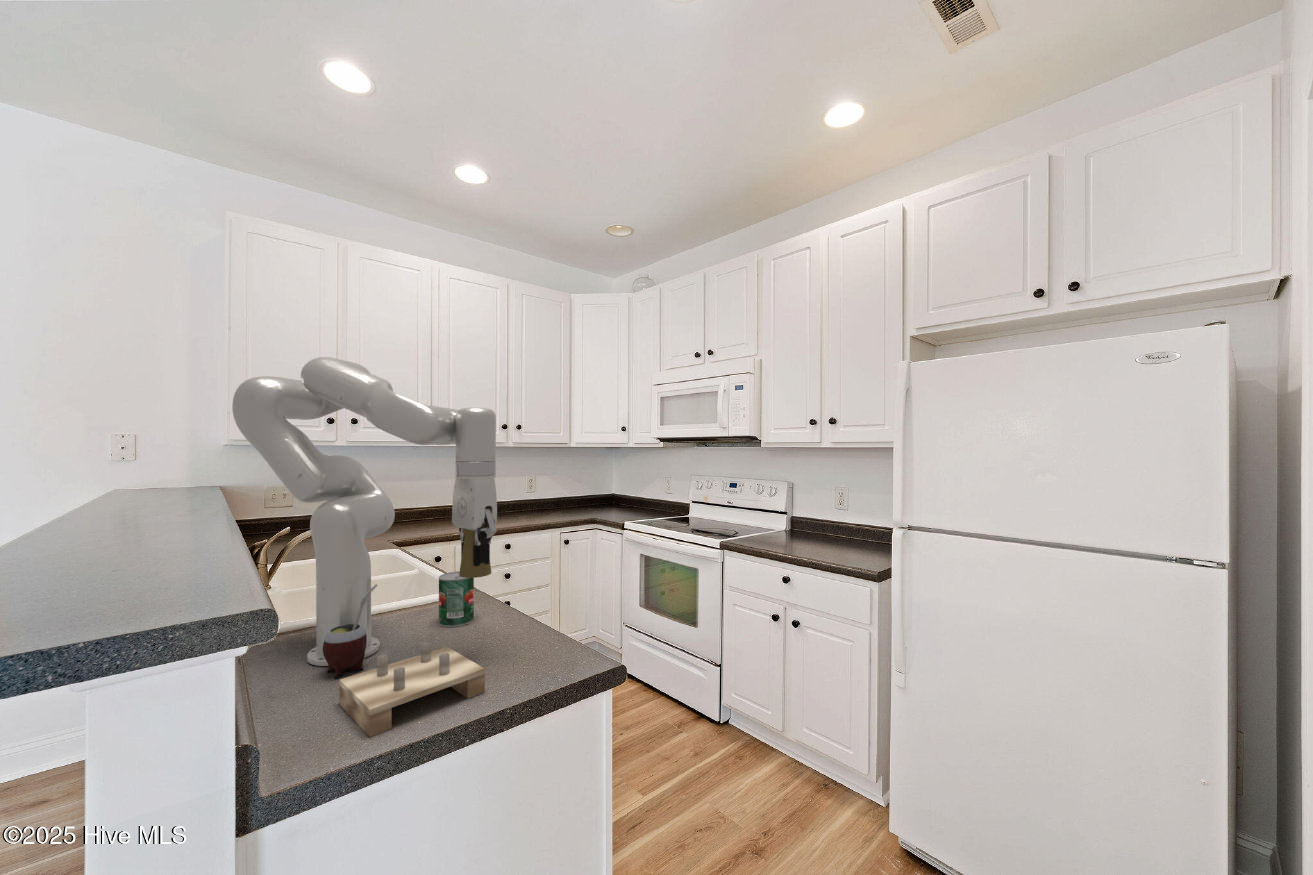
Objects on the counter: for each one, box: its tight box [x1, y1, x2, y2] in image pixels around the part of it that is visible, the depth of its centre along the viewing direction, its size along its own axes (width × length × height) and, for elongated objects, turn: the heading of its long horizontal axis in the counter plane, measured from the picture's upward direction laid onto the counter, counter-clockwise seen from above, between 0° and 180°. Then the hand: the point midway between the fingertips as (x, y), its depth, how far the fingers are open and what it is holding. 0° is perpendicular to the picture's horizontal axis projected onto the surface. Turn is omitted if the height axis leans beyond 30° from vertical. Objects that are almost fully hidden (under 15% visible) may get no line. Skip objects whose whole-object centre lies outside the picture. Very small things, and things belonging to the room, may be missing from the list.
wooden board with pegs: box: [338, 641, 486, 738], centre depth 86 cm, size 14×18×7 cm
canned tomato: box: [438, 570, 475, 628], centre depth 122 cm, size 8×8×11 cm
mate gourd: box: [323, 584, 378, 680], centre depth 97 cm, size 8×8×15 cm
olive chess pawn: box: [458, 525, 492, 579], centre depth 102 cm, size 6×6×11 cm
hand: (475, 561), depth 102 cm, fingers closed on olive chess pawn, 4 cm apart
